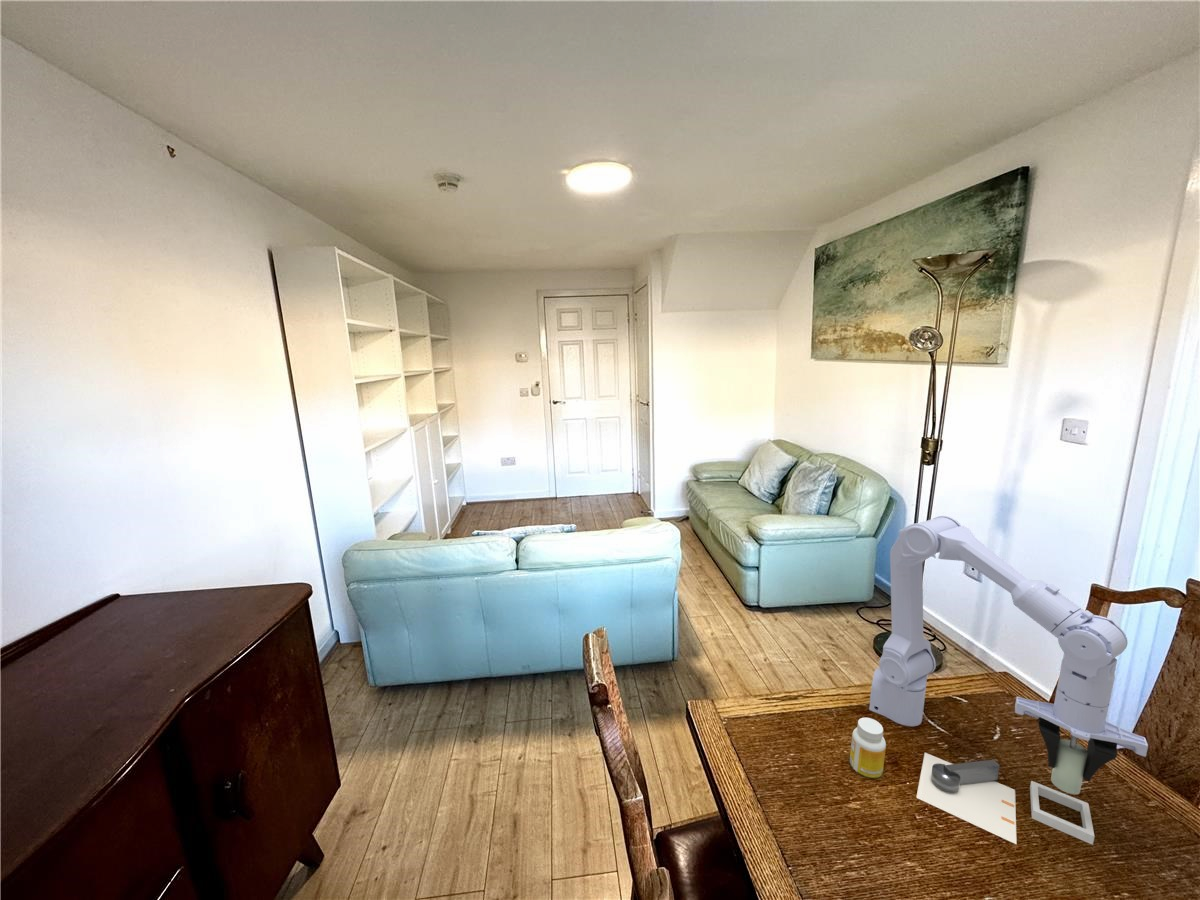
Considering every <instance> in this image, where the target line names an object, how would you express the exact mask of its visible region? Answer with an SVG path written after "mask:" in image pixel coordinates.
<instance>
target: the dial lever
mask: <svg viewBox="0 0 1200 900" xmlns="http://www.w3.org/2000/svg"><path fill="white" fill-rule="evenodd" d="M1000 766H1001V765H1000V764H999V763H998V762H997V761H996V760H995V759H989V760H979V761H971V762H963V763H952V764H951V765H944V764H934V765H933V766H932V773H931V780H932V782H933V783H934V784H935V785H936V786H937V787H938V788H940V789H941V790H943V791H945V792H949V793H956V792H958V790H959V785H960V784H967V783H975V782H984V781H992V780H993V781H998V779H999V774H1000V773H999V772H1000V768H1001V767H1000Z"/></svg>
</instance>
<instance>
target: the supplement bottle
mask: <svg viewBox="0 0 1200 900" xmlns="http://www.w3.org/2000/svg"><path fill="white" fill-rule="evenodd" d="M856 726H857V727H855V728H854V729H853V731H852V735H851V741H850V742H851V745H850V755H849V764H850V767H851V768H852V769H853V770H855V772H856V773H858V774H859V775H861V776H863V777H865V778H869V779H878V778H880V777H882V776H883V773H884V764H885V757H886V748H887V744H886V742H887V741H886V740H885V738H884V727H883V725H882V724H881V723H880V722H879V721H877V720H876V719H874V718H870V717H861V718H859V719H858V721H857V725H856Z"/></svg>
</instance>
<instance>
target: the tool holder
mask: <svg viewBox="0 0 1200 900" xmlns="http://www.w3.org/2000/svg"><path fill="white" fill-rule="evenodd" d="M1029 794H1030V812H1031V819H1033V820H1035V821H1037V822H1039V823H1042V824H1044V825H1046V826H1049V827H1051V828H1053V829H1055V830H1058V831H1059V832H1062V833H1065V834H1066V835H1069V836H1071V837H1074V838H1076V839H1078V840H1081V841H1083V842H1085V843H1087V844H1090V845H1092V846H1093V845H1094V841H1095V838H1096V837H1095V833H1094V825H1093V822H1092V816H1091V815H1092V814H1091V809H1090V805H1089V803H1088V802H1086V801H1084V800H1082V799H1078V798H1076V797H1073V796H1071V795H1068V794H1067V793H1064V792H1061V791H1059V790H1056V789H1053V788H1050V787H1048V786H1046V785H1043V784H1041V783H1038V782H1035V781H1033V780H1031V781H1030V786H1029ZM1039 796H1041V797H1042V798H1044V799H1047V800H1050V801H1053V802H1054V803H1058V804H1060V805H1063V807H1064V806H1065V807H1067V808H1069V809H1072V810H1075V811H1077V812H1080V817H1081V824H1082V826H1080V825H1077V824H1075V823H1073V822H1070V821H1068V820H1065V819H1063V818H1060V817H1059V816H1055V815H1053V814H1051V813H1049V812H1047V811H1045V810H1042V809H1040V801H1039Z"/></svg>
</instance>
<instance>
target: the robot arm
mask: <svg viewBox="0 0 1200 900" xmlns="http://www.w3.org/2000/svg"><path fill="white" fill-rule="evenodd" d="M938 553H939V554H938ZM936 554H938V556H937V557H938V559H939V560H948V561H959V562H960V561H961V562H964V563H966V564H967V565H968V566H970V567H971V568H973V569H975V570H976V571H977V572H978V573H980V574H982V575H983V576H985V577H986V578H988V579H989V580H990V581H992V582H993V583H995V584H996V585H998V586H1000V588H1002V589H1003V590H1005V591H1007V592H1008V593H1010V595H1011V600H1012V603H1013V605H1014V606H1015V607H1016V608H1017V609H1019V610H1020V611H1022V612H1023V613H1024V614H1025V615H1026V616H1028V617H1029V618H1031V620H1033V621H1035V622H1036V624H1038V625H1040V626H1041V627H1042V628H1044V629H1045V630H1046V631H1048V633H1050V634H1051V635H1053V636H1054V637H1055V638H1057V643H1058V645H1059V647H1060V649H1061V650H1062V652H1063V656H1062V657H1063V658H1062V660H1061V665H1060V669H1059V675H1058V681H1057V686H1056V691H1055V696H1054V703H1050V702H1046V701H1038V700H1032V699H1028V698H1024V697H1020V696H1016V698H1015V704H1014V713H1015V714H1017V715H1021V716H1024V715H1027V716H1030V717H1033V718H1036V719H1038V720H1037V721H1038V729H1039V732H1040V734H1041V737H1042V738H1043V741H1044V743H1045V747H1046V751H1047V764H1048V767H1049V768H1052V769H1053V768H1055V765H1056V752H1057V748H1058V745H1059V741H1060V739H1061V734H1060V732H1061V729H1060V728H1062V729H1064V730H1066V731H1068V732H1069V733H1070V735H1073V736H1074V737H1077V738H1078V739H1080V740H1082V741H1083V740H1084V741H1087V749H1086V751H1087V752H1088V755H1087V760H1086V765H1085V770H1084V774H1083V781H1087V782H1091V780H1092V778H1093V777H1094V775H1095V774H1096V773H1097V772H1098V770H1099V769H1101V768H1102V766H1104V765H1106V764H1108V763H1109V762H1111V761H1113V760H1115V759H1116V758H1117V757H1118V749H1117V748H1118V747H1117V746H1119V747H1123V748H1125V749H1128V750H1132V751H1133V752H1134V753H1135V754H1136V755H1139V756H1142V757H1144V758H1146V757H1147V753H1148V749H1149V744H1148V741H1147V739H1146V738H1147V737H1144V736H1141V735H1139V734H1135V733H1133V732H1131V731H1128V730H1125V729H1124V728H1122V727H1120V726H1118V725H1115V724H1112V723H1111V722H1109V721H1107V717H1108V713H1109V708H1110V704H1111V703H1110V702H1111V698H1112V695H1113V694H1112V693H1113V689H1114V683H1115V679H1116V678H1115V677H1116V670H1117V669H1116V668H1117V663H1118V659H1117V658H1116V657H1118V656H1119V655H1121V654H1122V653H1123V652H1125V650H1126V648H1127V647H1128V643H1129V642H1128V637H1127V635H1126V634H1125V632H1124V630H1123V629H1122V628H1121V627H1120V626H1118V625H1117V624H1116V623H1115V622H1114V621H1113V619H1111V618H1108V617H1105V616H1102V615H1096V614H1094V613H1092V612H1091V611H1089V610H1088V609H1085V610H1084V609H1083V608H1081V607H1080V606H1079V605H1077V604H1076V603H1074V602H1073V601H1072V600H1070V599H1069V598H1067V597H1066V596H1064V595H1063V594H1062V593H1060V592H1059V591H1060V590H1061V589H1060V588H1059V587H1057V586H1056V585H1055V584H1053V583H1050V584H1048V583H1046V582H1045V581H1044V580H1038V579H1037V580H1035V579H1028V578H1027V577H1025V576H1024V575H1023V574H1022V573H1020V572H1019V571H1018V570H1016V569H1015V568H1014V567H1013V566H1011V565H1010V564H1009V563H1008V562H1007V561H1005V560H1004V559H1003V558H1001V557H1000V555H997V553H995V552H994V551H993V550H991V549H990V548H989V547H987V546H986V545H985V544H984V543H982V542H981V541H980V540H979V539H978V538H977V537H976V536H975V535H974V533H973V532H972V530H970V528H969V527H967V526H965V525H961V523H960V522H958V521H957V519H955V518H953V517H950V516H949V515H948V516H947V515H939V516H936V517H934V518H931V519H927V520H925V521H922V522H918V523H917V522H916V523H911V524H909V525H907V526H905V527H903V528H901V529H900V530H898V537H897V539H896V540H895V542H894V543H893V545H892V547H891V548H890V551H889V555H890V556H889V557H890V559H889V560H890V563H889V564H890V566H889V567H890V605H891V606H890V609H891V610H890V613H891V616H890V617H891V634H890V635H889V637H888V639H886V641H885V643H884V644H883V646H882V655H881V656H880V658H879V659H878V660H879V661H878V667H879V668H877V667H876V668H875V669H874V672H873V677H872V682H871V687H870V689H871V690H870V696H869V706H868V707H869V708H868V709H869V711H870V712H873V713H876V714H879V715H881V716H883V717H885V718H887V719H889V720H891V721H892V722H895V723H897V724H899V725H902V726H906V727H916V726H919V725H921V724H922V722H923V717H924V715H923V714H924V708H925V707H924V706H925V700H926V690H927V684H928V683H927V680H928V675H929V674H932V673H933V672H934V671H935V670H936V664H937V663H936V659H935V656H934V655H933V653H932V646H931V642H930V641H929V640H928V639H927V638H925V636H924V593H923V592H924V589H923V588H924V587H923V585H924V584H923V583H924V581H923V563H924V561H926V560H927V559H929V558H931V557H933V556H934V555H936ZM876 707H877V708H876Z"/></svg>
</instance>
